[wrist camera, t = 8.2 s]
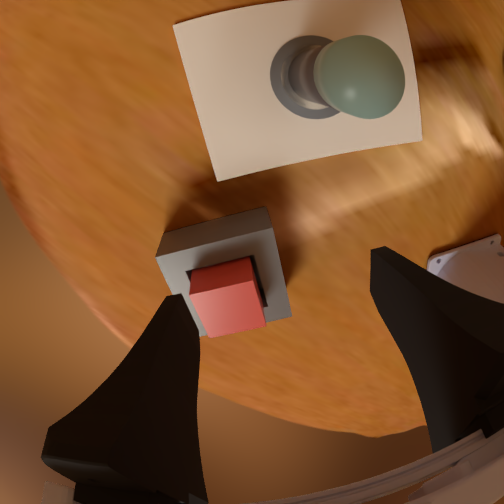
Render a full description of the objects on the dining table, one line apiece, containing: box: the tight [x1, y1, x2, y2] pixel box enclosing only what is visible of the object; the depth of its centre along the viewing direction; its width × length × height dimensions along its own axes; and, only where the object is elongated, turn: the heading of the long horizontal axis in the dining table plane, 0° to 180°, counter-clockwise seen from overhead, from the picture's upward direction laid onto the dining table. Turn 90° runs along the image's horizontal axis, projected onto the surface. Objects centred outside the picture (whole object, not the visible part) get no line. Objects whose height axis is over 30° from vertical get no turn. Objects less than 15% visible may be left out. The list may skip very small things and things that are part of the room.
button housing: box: [155, 207, 292, 336], centre depth 20 cm, size 7×7×3 cm
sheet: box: [173, 0, 422, 182], centre depth 15 cm, size 14×10×1 cm
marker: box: [288, 35, 405, 119], centre depth 12 cm, size 3×3×7 cm
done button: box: [189, 256, 266, 338], centre depth 18 cm, size 4×4×2 cm
